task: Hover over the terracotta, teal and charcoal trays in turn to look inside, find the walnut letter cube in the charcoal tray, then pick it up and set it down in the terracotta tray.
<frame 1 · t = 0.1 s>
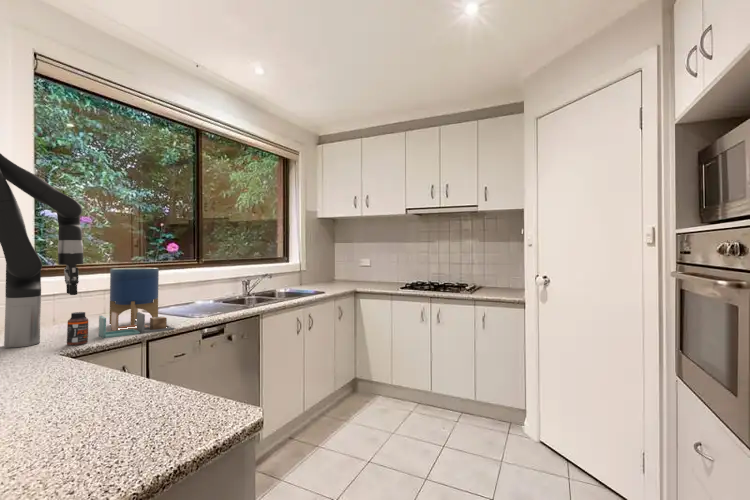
hand: (71, 294, 141), 17 cm above the countertop, tool pointing down, fingers open, 8 cm apart
supplement bottle: (77, 344, 133), on the countertop
tray charcoal: (155, 330, 157), on the countertop
tray teal: (119, 335, 148), on the countertop
tray terracotta: (130, 329, 159), on the countertop
letter cube: (158, 329, 158), resting on tray charcoal
planter: (134, 324, 174), on the countertop
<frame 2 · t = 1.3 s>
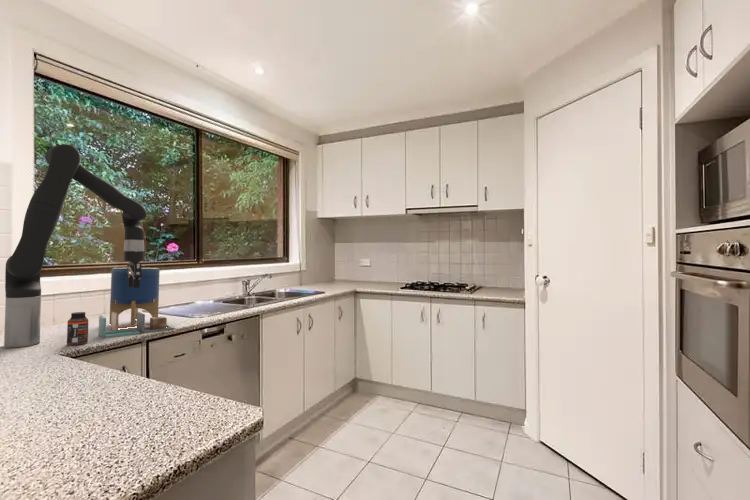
hand: (133, 287, 160), 18 cm above the countertop, tool pointing down, fingers open, 8 cm apart
planter: (134, 323, 174), on the countertop, touching hand
everything else where it was.
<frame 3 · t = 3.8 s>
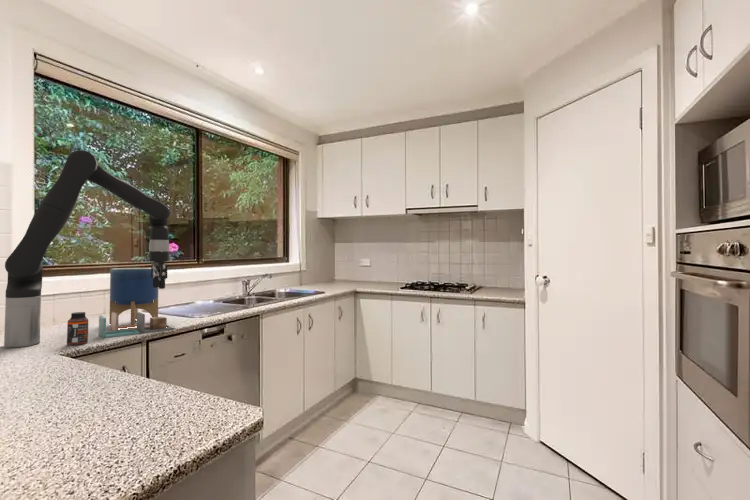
hand: (158, 288, 158), 18 cm above the countertop, tool pointing down, fingers open, 8 cm apart
planter: (134, 324, 174), on the countertop
everything else where it was.
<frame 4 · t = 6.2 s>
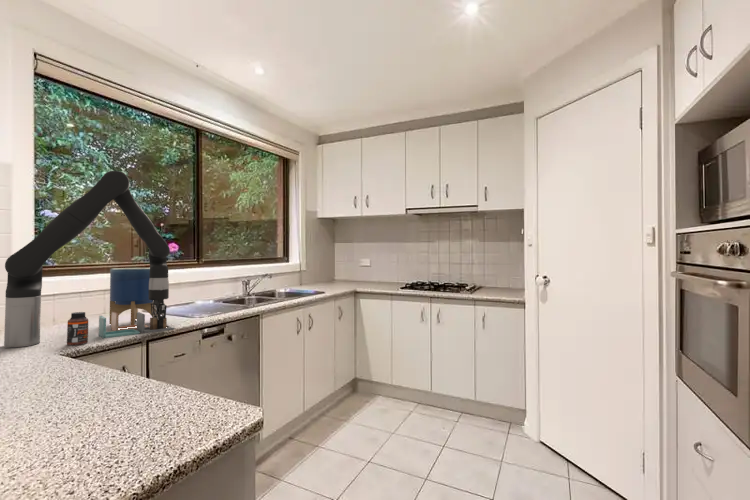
hand: (158, 327, 158), 1 cm above the countertop, tool pointing down, fingers closed on letter cube, 5 cm apart
letter cube: (158, 329, 158), resting on tray charcoal, touching gripper
everything else where it was.
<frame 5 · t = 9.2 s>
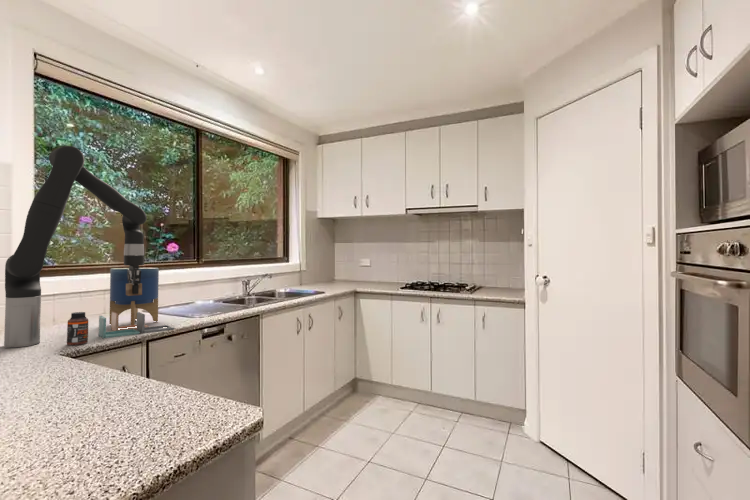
hand: (133, 293, 160), 16 cm above the countertop, tool pointing down, fingers closed on letter cube, 5 cm apart
letter cube: (133, 295, 160), point 15 cm above the countertop, touching gripper
planter: (134, 324, 174), on the countertop, touching hand
everything else where it was.
when the fingers open (2 cm above the countertop, at t = 11.9 s): letter cube drops 1 cm, resting on tray terracotta.
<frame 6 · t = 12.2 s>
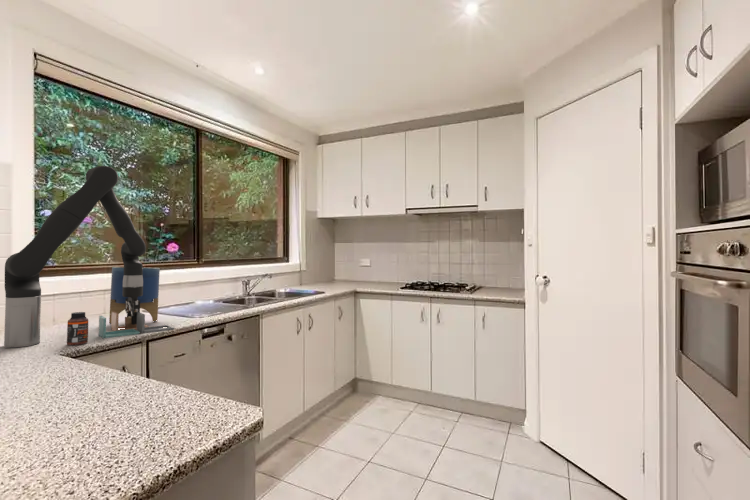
hand: (132, 322, 160), 3 cm above the countertop, tool pointing down, fingers open, 7 cm apart
letter cube: (132, 328, 160), resting on tray terracotta
planter: (133, 323, 174), on the countertop, touching hand
everything else where it was.
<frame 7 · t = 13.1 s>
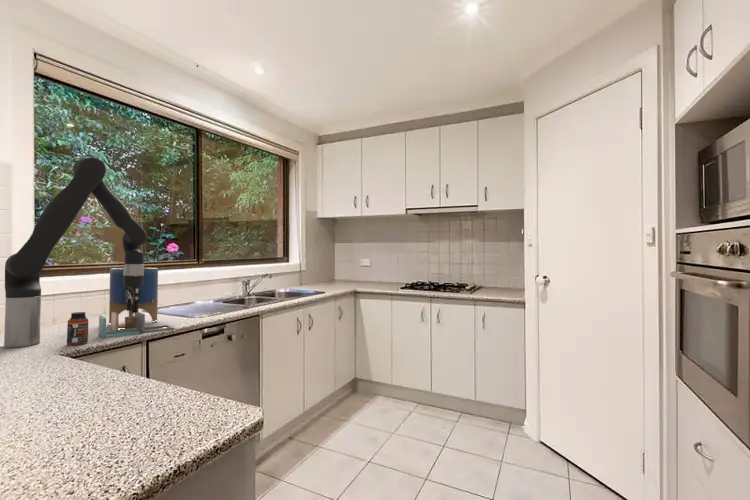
hand: (131, 311, 160), 8 cm above the countertop, tool pointing down, fingers open, 8 cm apart
planter: (133, 323, 174), on the countertop
everything else where it was.
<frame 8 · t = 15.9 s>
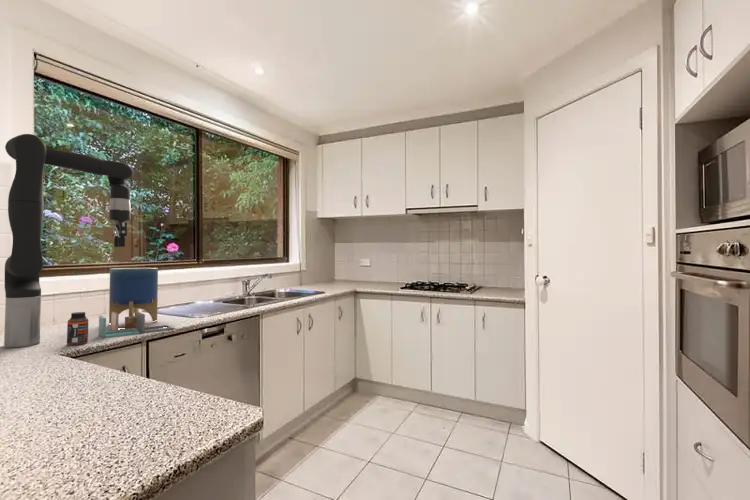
hand: (119, 246, 159), 36 cm above the countertop, tool pointing down, fingers open, 8 cm apart
nothing on the countertop moved.
at the end: letter cube inside the target area on the tray terracotta (0.8 cm from its centre), point 0.4 cm above the tray terracotta's base; letter cube resting on tray terracotta; the gripper is holding nothing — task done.
